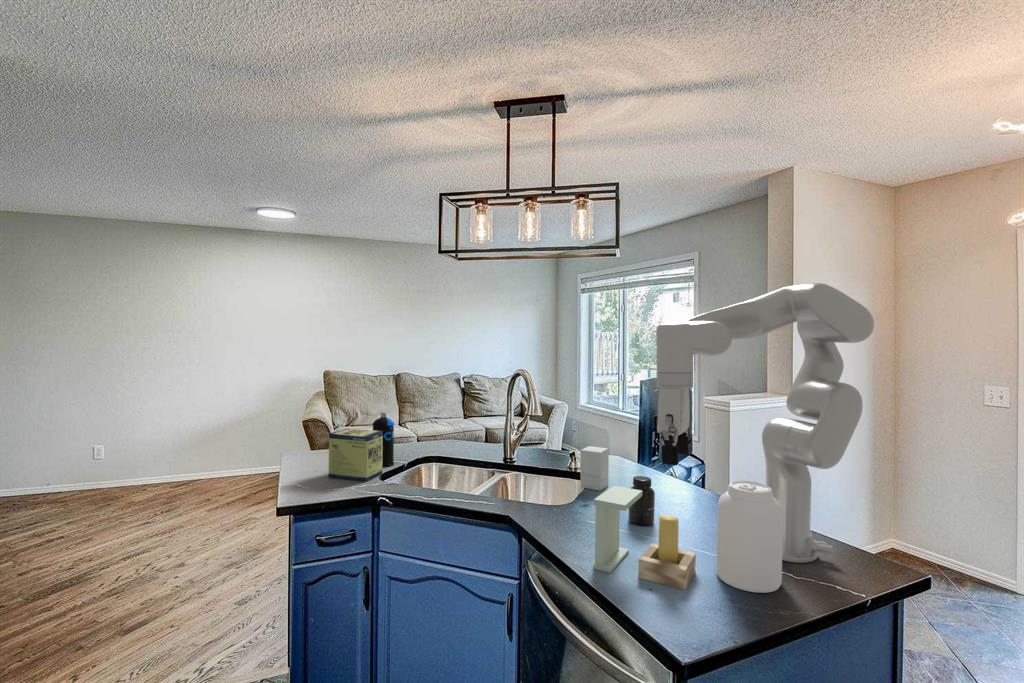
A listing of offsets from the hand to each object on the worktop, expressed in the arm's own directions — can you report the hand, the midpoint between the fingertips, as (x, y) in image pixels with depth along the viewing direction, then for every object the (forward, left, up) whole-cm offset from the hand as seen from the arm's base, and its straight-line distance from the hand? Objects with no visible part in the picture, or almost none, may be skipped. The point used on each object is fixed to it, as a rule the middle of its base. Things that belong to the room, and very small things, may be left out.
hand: (675, 458), depth 112 cm
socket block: (+1, +3, -24) cm, 25 cm away
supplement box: (+38, -47, -25) cm, 65 cm away
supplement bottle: (+15, -24, -25) cm, 38 cm away
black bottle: (+116, -28, -25) cm, 122 cm away
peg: (+1, +3, -24) cm, 25 cm away
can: (-14, -4, -25) cm, 29 cm away
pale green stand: (+12, +3, -24) cm, 27 cm away
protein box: (+113, -12, -25) cm, 116 cm away
